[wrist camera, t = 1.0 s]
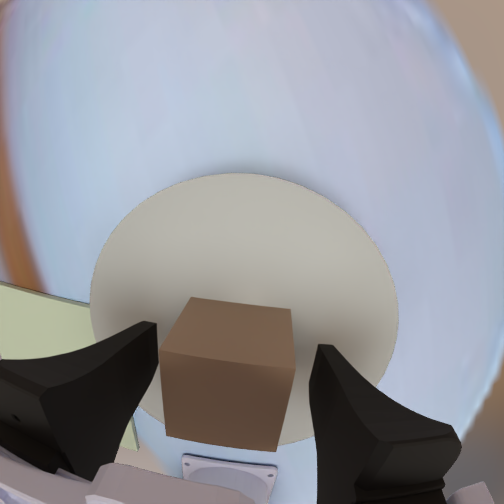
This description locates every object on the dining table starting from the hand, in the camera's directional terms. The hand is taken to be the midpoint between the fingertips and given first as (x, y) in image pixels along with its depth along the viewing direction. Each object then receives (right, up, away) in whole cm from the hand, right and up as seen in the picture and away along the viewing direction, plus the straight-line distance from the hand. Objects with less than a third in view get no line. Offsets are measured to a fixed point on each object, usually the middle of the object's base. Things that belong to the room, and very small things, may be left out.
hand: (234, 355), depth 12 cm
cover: (0, 0, +2) cm, 2 cm away
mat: (-15, -5, +8) cm, 18 cm away
